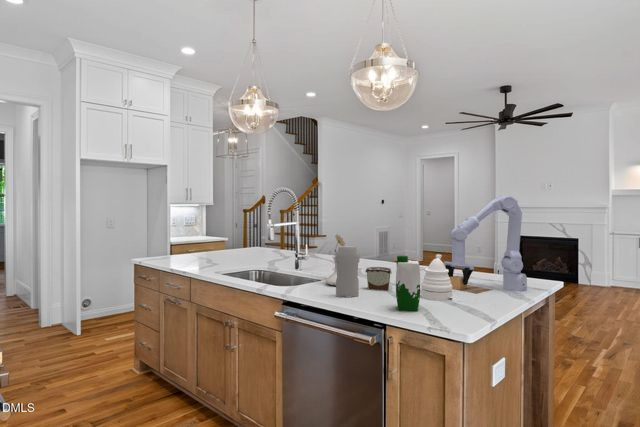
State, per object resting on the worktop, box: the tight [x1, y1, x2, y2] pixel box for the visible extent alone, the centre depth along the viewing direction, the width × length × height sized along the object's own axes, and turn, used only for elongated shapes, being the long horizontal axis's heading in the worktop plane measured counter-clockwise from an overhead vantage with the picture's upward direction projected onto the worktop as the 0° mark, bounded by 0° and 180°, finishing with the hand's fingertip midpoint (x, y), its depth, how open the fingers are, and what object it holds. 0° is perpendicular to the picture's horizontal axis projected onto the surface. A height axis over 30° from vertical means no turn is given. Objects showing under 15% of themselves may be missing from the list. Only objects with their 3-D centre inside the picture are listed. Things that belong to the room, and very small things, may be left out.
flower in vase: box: [325, 233, 346, 286], centre depth 198 cm, size 13×11×25 cm
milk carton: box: [395, 255, 421, 312], centre depth 153 cm, size 9×9×20 cm
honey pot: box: [420, 254, 453, 302], centre depth 172 cm, size 13×13×18 cm
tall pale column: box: [334, 245, 361, 298], centre depth 173 cm, size 11×4×22 cm, turn 95°
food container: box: [364, 266, 393, 292], centre depth 188 cm, size 12×6×10 cm, turn 71°
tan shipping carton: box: [450, 275, 468, 290], centre depth 186 cm, size 5×5×5 cm
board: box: [452, 284, 494, 295], centre depth 184 cm, size 16×14×1 cm
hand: (458, 283), depth 186 cm, fingers open, 7 cm apart
